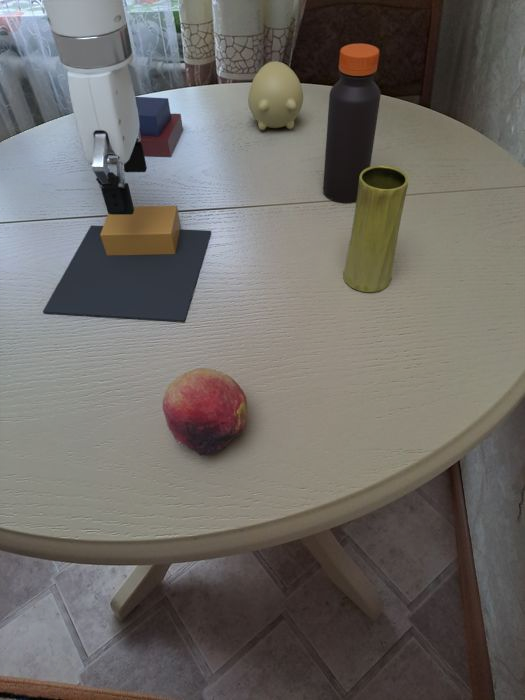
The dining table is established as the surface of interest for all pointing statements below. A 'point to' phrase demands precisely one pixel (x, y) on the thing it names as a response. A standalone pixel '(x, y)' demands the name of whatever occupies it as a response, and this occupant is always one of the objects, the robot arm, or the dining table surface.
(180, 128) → the bottom book
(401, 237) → the dining table surface
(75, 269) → the desk mat
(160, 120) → the middle book
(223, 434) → the fruit
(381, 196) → the vase
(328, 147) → the bottle
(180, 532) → the dining table surface
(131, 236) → the top book
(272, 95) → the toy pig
